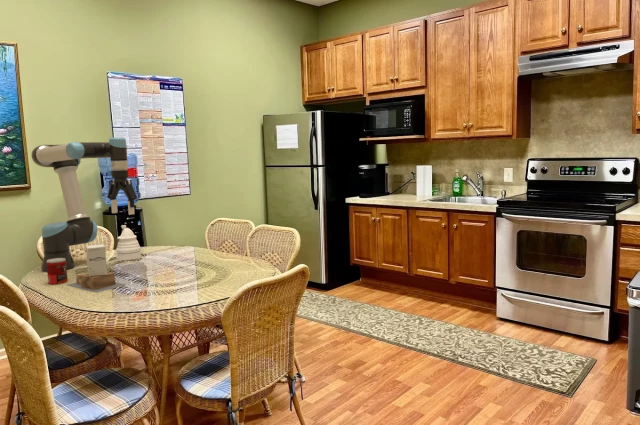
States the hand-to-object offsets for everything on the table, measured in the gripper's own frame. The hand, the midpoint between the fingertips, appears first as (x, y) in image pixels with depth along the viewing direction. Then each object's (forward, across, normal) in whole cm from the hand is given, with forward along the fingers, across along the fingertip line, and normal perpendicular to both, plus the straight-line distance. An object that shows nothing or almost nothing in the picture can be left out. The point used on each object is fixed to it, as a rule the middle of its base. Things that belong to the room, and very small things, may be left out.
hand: (123, 213), depth 239 cm
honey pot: (+29, -29, +21) cm, 46 cm away
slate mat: (+29, +12, -24) cm, 39 cm away
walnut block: (+28, +14, -24) cm, 40 cm away
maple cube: (+28, +4, -25) cm, 38 cm away
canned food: (+29, -8, -30) cm, 42 cm away
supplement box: (+23, +14, -24) cm, 36 cm away
